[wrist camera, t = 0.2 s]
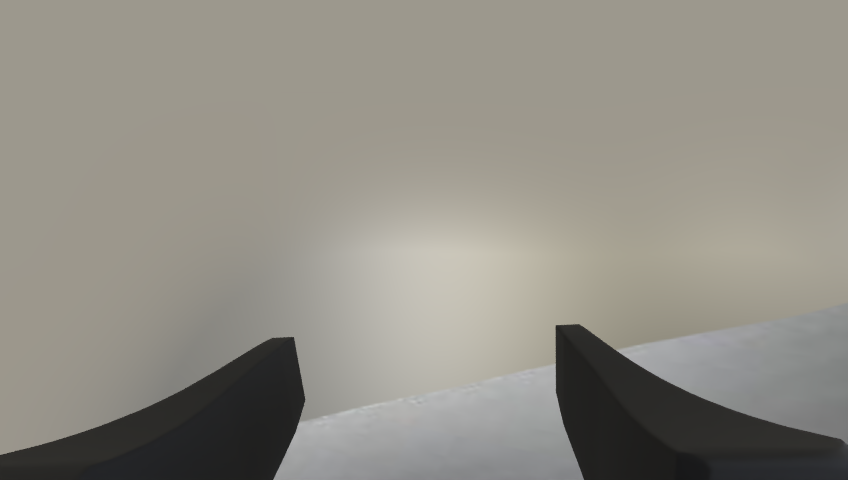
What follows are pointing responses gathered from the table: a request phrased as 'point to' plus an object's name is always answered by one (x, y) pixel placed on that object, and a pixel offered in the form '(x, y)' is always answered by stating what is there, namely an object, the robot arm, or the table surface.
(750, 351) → the table surface
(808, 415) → the table surface
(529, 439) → the table surface
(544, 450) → the table surface
